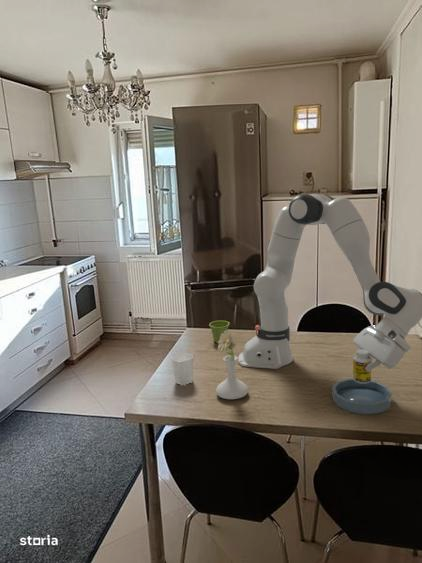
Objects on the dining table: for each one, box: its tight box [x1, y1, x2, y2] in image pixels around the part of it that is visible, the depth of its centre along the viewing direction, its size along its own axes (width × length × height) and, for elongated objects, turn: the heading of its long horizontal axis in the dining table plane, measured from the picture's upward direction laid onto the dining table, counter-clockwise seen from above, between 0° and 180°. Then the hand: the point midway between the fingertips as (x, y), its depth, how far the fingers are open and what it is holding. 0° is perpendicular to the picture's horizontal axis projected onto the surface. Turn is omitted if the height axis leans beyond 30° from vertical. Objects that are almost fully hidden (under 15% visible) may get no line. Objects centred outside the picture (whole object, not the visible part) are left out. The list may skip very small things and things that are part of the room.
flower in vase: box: [215, 329, 249, 400], centre depth 149 cm, size 13×11×25 cm
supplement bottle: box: [352, 349, 373, 384], centre depth 141 cm, size 6×6×10 cm
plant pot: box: [208, 320, 230, 344], centre depth 203 cm, size 9×9×9 cm
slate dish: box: [331, 377, 393, 415], centre depth 144 cm, size 18×18×4 cm
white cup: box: [171, 352, 194, 386], centre depth 164 cm, size 8×8×10 cm
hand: (360, 365), depth 141 cm, fingers closed on supplement bottle, 5 cm apart
